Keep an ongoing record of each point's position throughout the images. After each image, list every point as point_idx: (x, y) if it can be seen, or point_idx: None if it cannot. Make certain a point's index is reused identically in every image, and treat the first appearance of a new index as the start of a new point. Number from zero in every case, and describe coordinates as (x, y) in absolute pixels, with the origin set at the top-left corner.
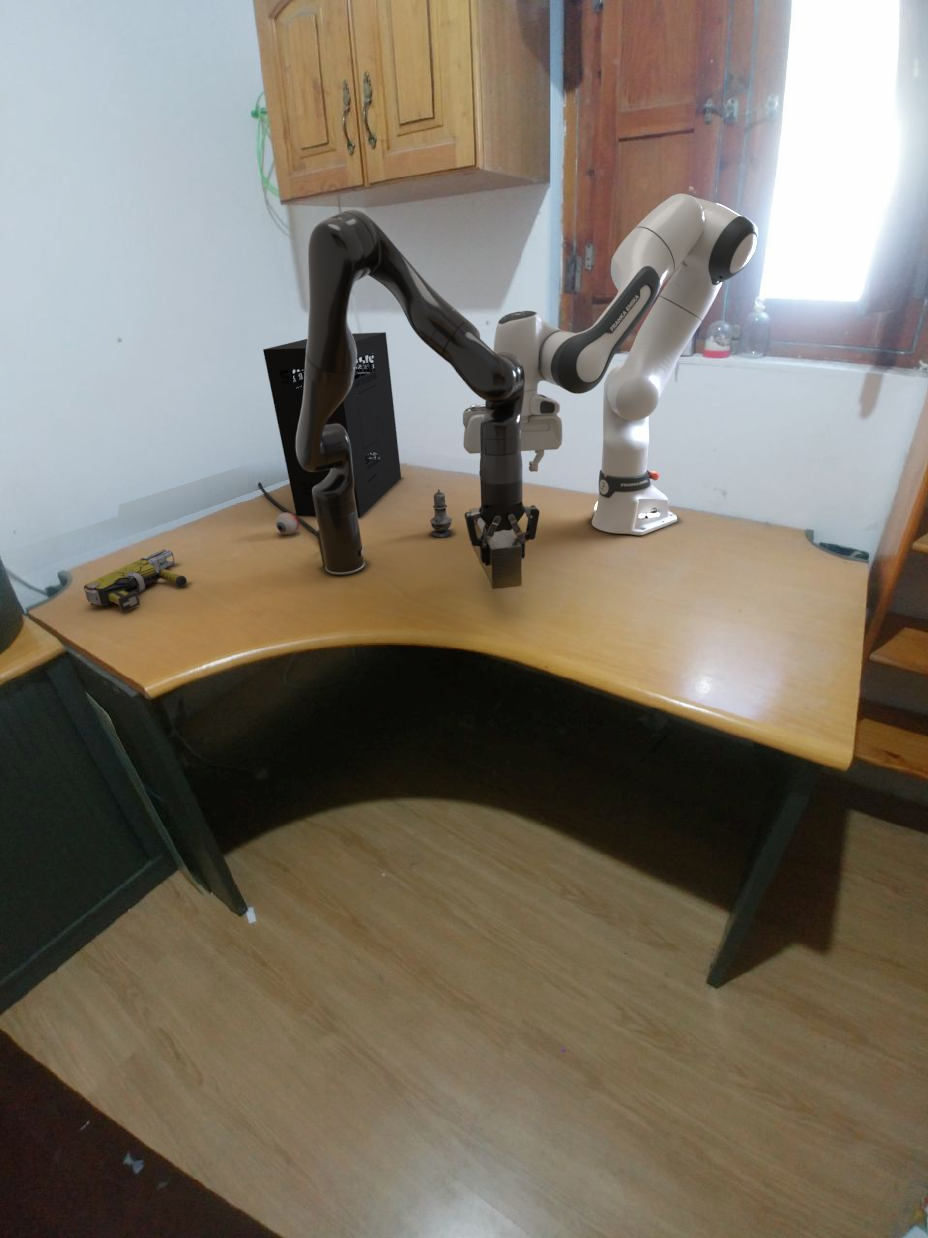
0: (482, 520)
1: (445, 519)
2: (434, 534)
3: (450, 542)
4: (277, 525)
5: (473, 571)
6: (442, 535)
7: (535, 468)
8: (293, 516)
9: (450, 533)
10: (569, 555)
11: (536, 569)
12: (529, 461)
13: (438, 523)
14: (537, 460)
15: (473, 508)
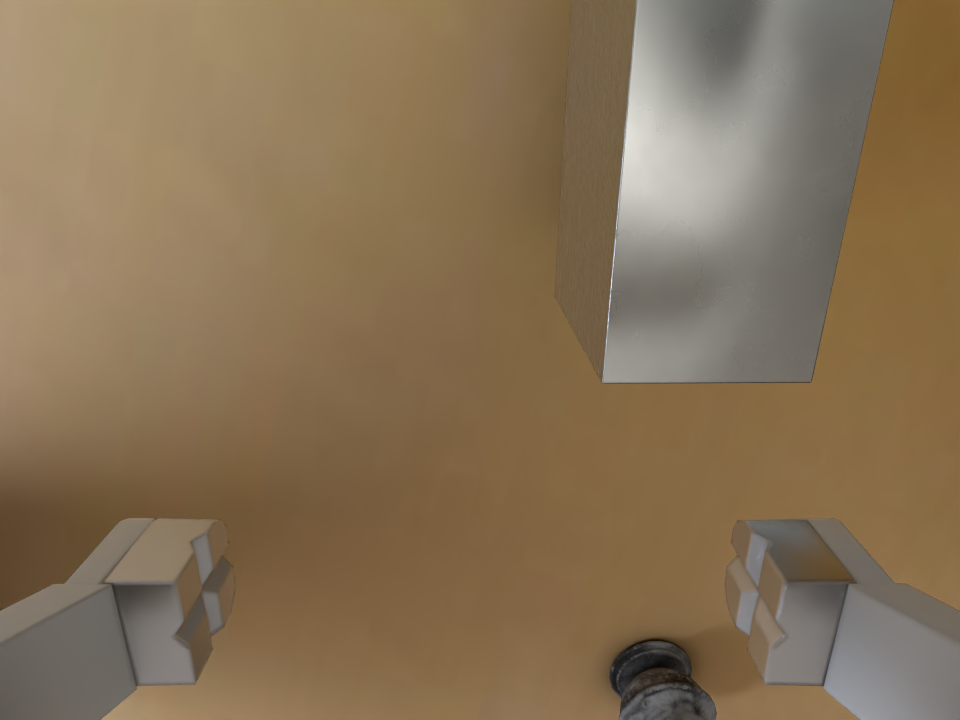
0: (822, 72)
1: (657, 712)
2: (685, 663)
3: (639, 590)
4: None
5: None
6: (658, 647)
7: (143, 533)
8: None
9: (621, 658)
10: (153, 341)
11: (341, 237)
12: (191, 681)
13: (689, 692)
14: (50, 610)
15: (781, 379)
